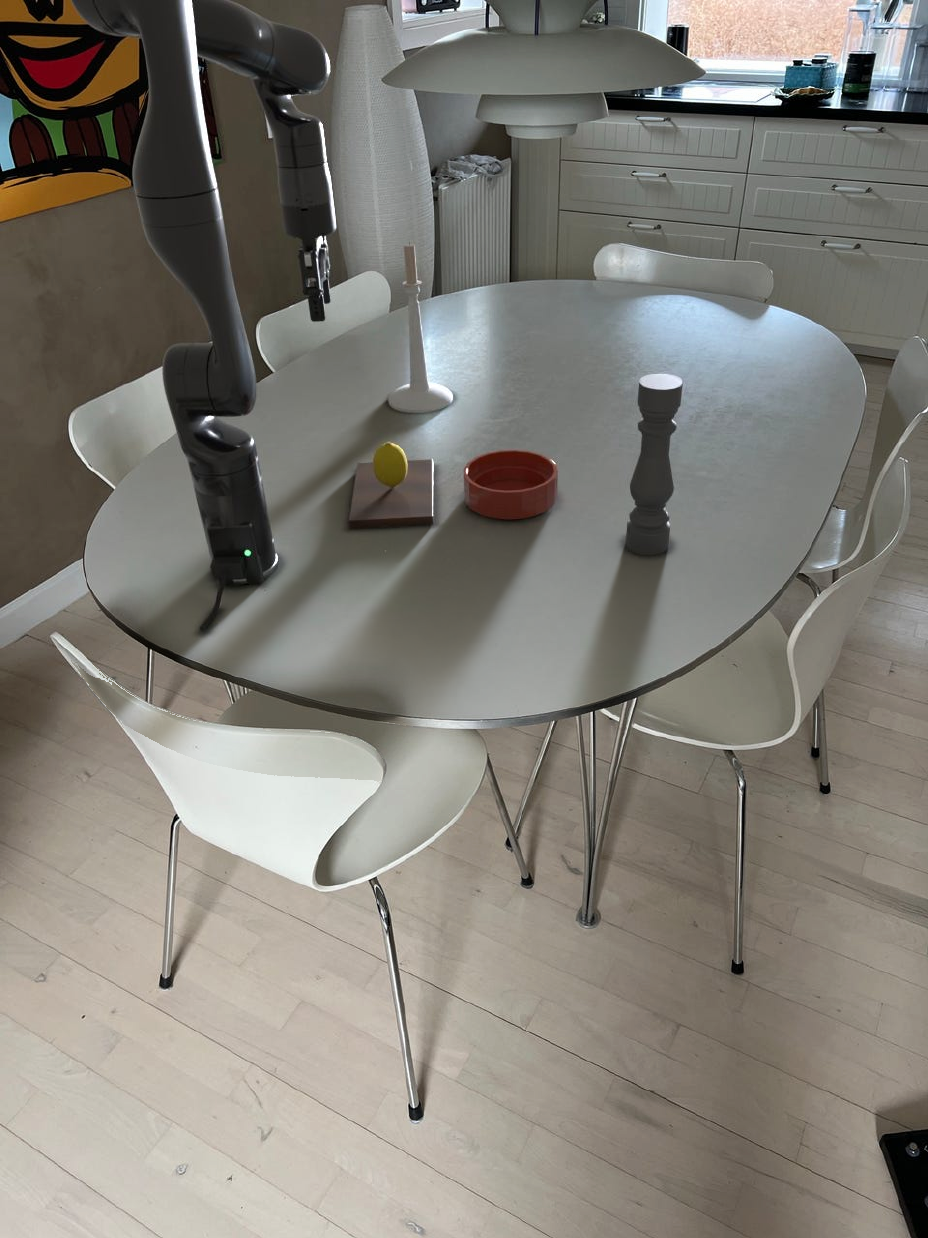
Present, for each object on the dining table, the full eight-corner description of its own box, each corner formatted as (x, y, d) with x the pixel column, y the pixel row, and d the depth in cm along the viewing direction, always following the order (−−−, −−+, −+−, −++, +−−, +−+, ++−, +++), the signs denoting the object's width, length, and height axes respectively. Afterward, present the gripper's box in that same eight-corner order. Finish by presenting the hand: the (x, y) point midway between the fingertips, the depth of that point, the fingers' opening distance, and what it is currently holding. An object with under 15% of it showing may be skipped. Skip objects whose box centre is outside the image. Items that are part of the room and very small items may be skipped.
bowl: (561, 519, 144) (562, 489, 140) (466, 524, 144) (464, 494, 140) (551, 475, 156) (552, 447, 152) (463, 480, 156) (462, 452, 153)
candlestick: (379, 395, 187) (363, 239, 170) (438, 383, 191) (428, 229, 174) (402, 417, 178) (387, 255, 160) (462, 404, 182) (455, 244, 164)
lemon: (404, 496, 149) (400, 450, 144) (371, 494, 150) (366, 449, 145) (413, 480, 153) (409, 435, 148) (380, 478, 154) (375, 434, 149)
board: (433, 524, 144) (432, 516, 143) (349, 528, 144) (348, 520, 143) (433, 466, 160) (432, 459, 159) (358, 470, 160) (357, 462, 159)
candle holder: (639, 529, 140) (652, 369, 126) (676, 541, 137) (693, 378, 122) (617, 546, 136) (628, 383, 122) (654, 560, 133) (670, 393, 118)
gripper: (286, 189, 138) (302, 299, 148) (273, 210, 127) (291, 328, 136) (336, 186, 138) (349, 296, 148) (328, 207, 127) (342, 325, 136)
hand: (321, 311), depth 142 cm, fingers open, 8 cm apart
